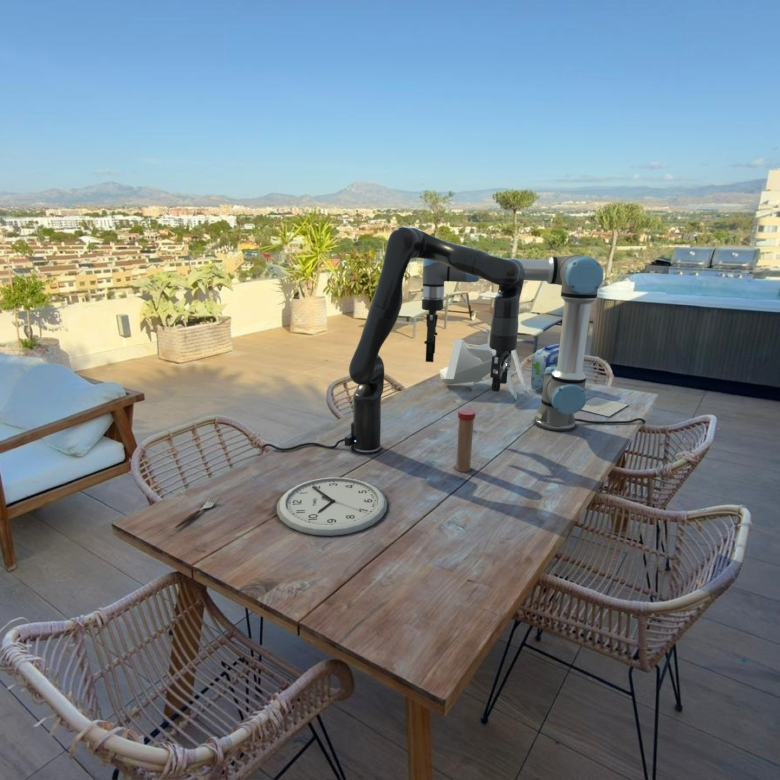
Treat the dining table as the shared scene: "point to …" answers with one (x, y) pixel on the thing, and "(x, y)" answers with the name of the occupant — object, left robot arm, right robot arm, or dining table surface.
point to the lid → (466, 414)
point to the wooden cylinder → (464, 445)
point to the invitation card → (603, 406)
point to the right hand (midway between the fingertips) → (430, 357)
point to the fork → (206, 505)
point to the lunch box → (543, 364)
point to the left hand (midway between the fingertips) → (499, 387)
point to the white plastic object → (476, 365)
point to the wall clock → (331, 506)
